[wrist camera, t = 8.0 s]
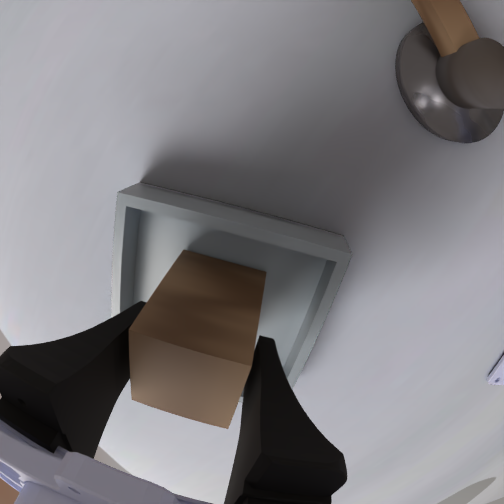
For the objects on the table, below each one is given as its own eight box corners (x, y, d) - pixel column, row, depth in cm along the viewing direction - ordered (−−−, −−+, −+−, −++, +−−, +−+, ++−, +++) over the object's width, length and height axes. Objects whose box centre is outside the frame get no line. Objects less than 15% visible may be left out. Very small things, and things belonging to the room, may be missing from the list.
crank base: (503, 59, 10) (511, 58, 9) (484, 160, 12) (491, 162, 11) (406, 3, 10) (411, -2, 9) (382, 112, 12) (387, 111, 11)
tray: (343, 236, 14) (352, 254, 12) (282, 384, 18) (280, 411, 16) (139, 182, 14) (117, 192, 12) (127, 340, 18) (113, 362, 16)
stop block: (266, 272, 15) (251, 366, 9) (247, 335, 16) (228, 429, 11) (183, 249, 15) (128, 329, 9) (174, 314, 16) (131, 399, 11)
